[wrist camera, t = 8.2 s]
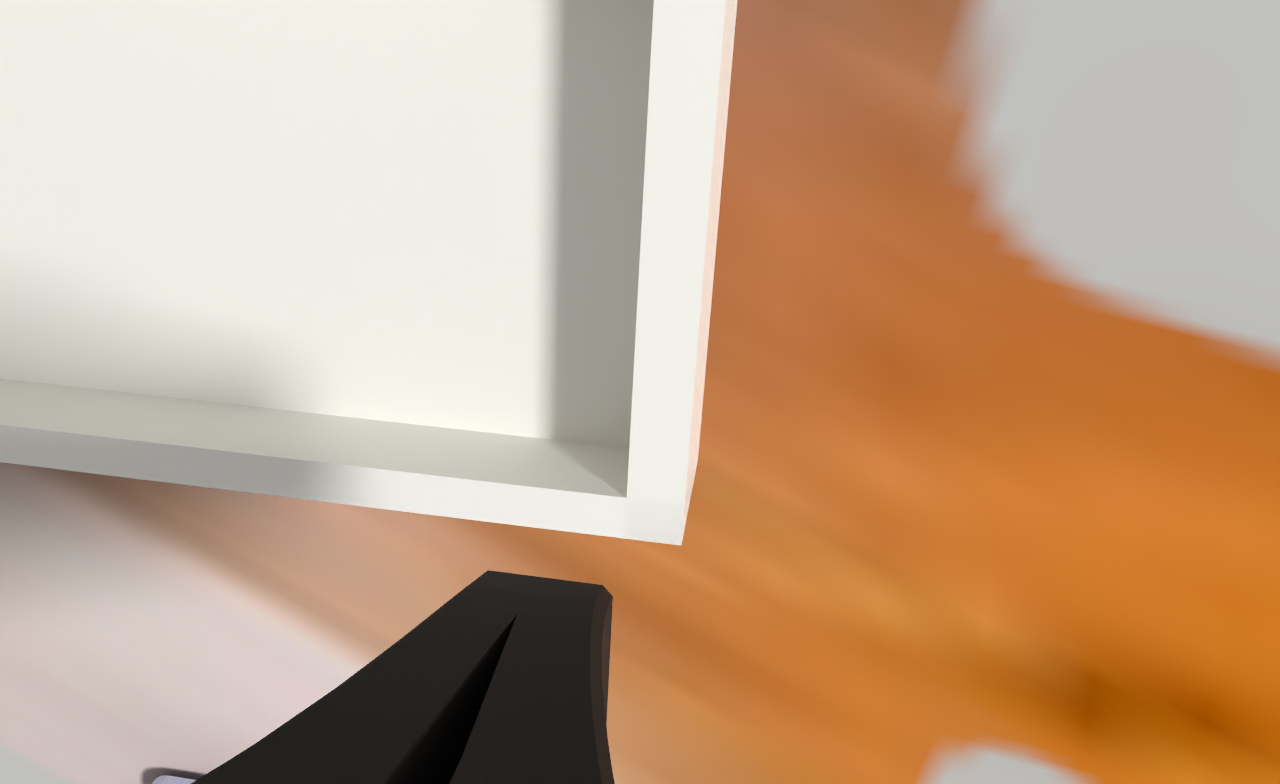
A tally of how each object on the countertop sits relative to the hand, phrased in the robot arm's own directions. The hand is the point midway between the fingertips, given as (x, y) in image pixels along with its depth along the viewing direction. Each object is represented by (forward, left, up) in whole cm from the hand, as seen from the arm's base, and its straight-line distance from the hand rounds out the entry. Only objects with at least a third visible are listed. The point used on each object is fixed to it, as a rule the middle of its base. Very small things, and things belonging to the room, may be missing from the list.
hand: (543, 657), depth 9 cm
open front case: (+3, +8, -9) cm, 12 cm away
